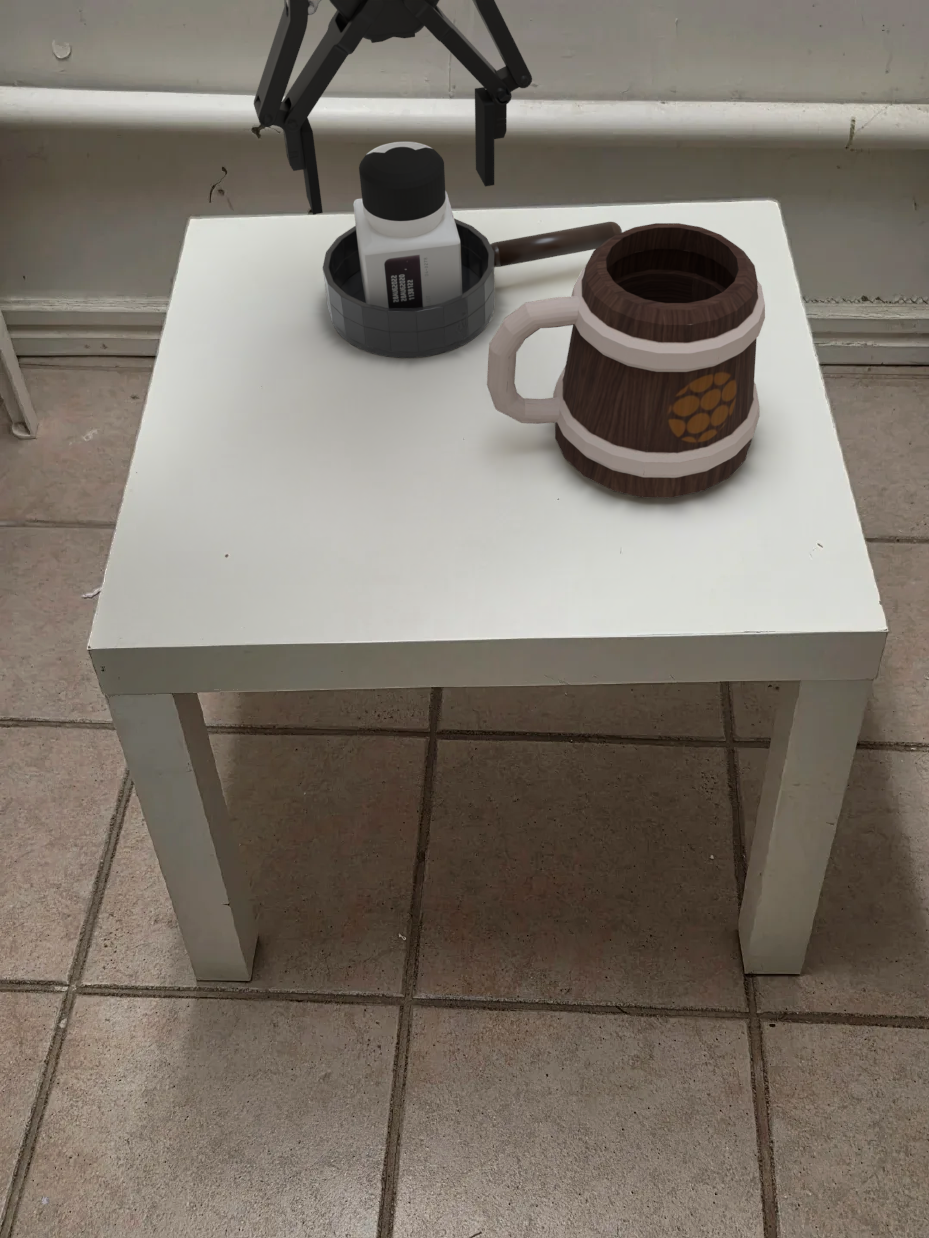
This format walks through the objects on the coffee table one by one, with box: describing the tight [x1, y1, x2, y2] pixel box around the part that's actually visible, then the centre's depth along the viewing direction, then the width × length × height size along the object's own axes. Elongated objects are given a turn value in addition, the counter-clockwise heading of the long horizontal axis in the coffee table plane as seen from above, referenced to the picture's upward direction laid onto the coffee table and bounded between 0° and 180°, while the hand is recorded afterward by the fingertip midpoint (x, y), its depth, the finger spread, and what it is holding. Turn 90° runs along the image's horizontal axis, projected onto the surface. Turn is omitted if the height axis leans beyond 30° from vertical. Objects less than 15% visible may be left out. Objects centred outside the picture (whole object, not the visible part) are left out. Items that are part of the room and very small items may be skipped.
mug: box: [486, 222, 766, 499], centre depth 84 cm, size 20×15×15 cm
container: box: [353, 141, 462, 308], centre depth 96 cm, size 8×8×13 cm
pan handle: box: [490, 221, 623, 268], centre depth 100 cm, size 12×2×2 cm, turn 105°
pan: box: [322, 218, 496, 359], centre depth 99 cm, size 14×14×4 cm
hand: (400, 191), depth 93 cm, fingers open, 13 cm apart
